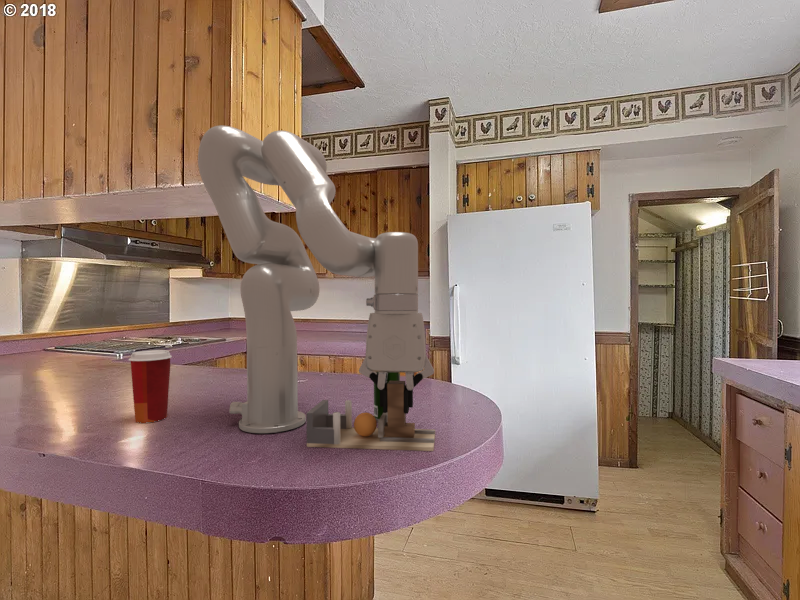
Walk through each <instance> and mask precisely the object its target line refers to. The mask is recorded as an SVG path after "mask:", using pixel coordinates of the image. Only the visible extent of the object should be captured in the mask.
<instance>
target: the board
mask: <svg viewBox="0 0 800 600" xmlns="http://www.w3.org/2000/svg"><path fill="white" fill-rule="evenodd" d="M340 435H341V443H340V444H316V443H307V442H306V447H308V448H332V449H334V448H335V449H337V448H338V449H360V450H361V449H365V450H392V451H393V450H394V451H421V452H422V451H424V452H434V449H435V439H436V429H427V428H425V429H424V428H415V435H414V438H402V437H385V434H384V436H383V438H380V437H378V427H376V430H375V431H374V433H373V434H371V435H369V436H361V435H359V434H358V433H357V432H356V431H355V429H354V426H352V428H351V429H340Z"/></svg>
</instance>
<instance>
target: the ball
mask: <svg viewBox="0 0 800 600" xmlns="http://www.w3.org/2000/svg"><path fill="white" fill-rule="evenodd" d="M353 427H354V429H355V431H356V432H357V433H358V434H359V435H361V436H369V435H371V434H373V433H374V431H375V430H376V428H378V422H377V421H376V419H375V417H374V414H372V413H370V412H362V413H359V414H358V415H357V416H355V419H354V421H353Z"/></svg>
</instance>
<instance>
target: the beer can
mask: <svg viewBox="0 0 800 600" xmlns="http://www.w3.org/2000/svg"><path fill="white" fill-rule="evenodd" d="M377 373H378V374H379V372H377ZM389 381H401V372H388V374H387V383H388V382H389ZM382 414H383V407H380V389H379V388H378V386H377V385H376V384H375V383H374V382H373V416H374V417H375V419H376V421H377V423H378V421H379V419H380V417H381V416H382Z"/></svg>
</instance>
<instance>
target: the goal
mask: <svg viewBox="0 0 800 600" xmlns="http://www.w3.org/2000/svg"><path fill="white" fill-rule="evenodd" d="M352 403H353V402H352V400H351V399H350V400H349V399H347V400H345V401H344V409H345V410H344V411H345V412H344V413H341V412H340V411H335V412H332V413H329V399H322V400H321V401H320V402H319V403H317V404H316V405H315V406H314V407H312V408H311V409H310V410H309V411H307V412H306V414H305V415H306V444H307V443H316V444H340V443H341V435H340V429H351V428H352V427H353V418H352V417H353V412H352V411H353V410H352V409H353V408H352V407H353V405H352Z"/></svg>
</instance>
